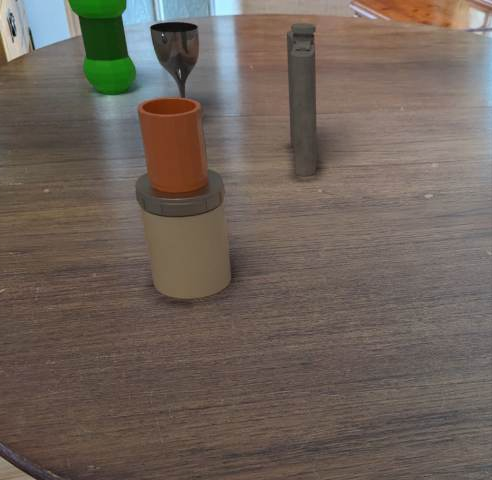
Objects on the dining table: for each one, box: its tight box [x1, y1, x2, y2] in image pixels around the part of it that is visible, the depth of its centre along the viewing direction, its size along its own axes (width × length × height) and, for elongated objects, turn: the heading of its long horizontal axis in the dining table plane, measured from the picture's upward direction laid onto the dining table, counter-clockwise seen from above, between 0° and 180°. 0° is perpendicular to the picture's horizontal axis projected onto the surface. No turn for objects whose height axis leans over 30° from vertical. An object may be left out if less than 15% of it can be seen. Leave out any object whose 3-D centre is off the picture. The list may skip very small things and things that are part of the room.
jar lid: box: [134, 168, 226, 216], centre depth 79 cm, size 9×9×2 cm
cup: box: [136, 96, 209, 193], centre depth 76 cm, size 6×6×8 cm
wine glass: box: [149, 21, 206, 120], centre depth 128 cm, size 8×8×15 cm
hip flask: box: [286, 22, 318, 177], centre depth 112 cm, size 16×4×20 cm, turn 9°
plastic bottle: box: [67, 0, 137, 95], centre depth 135 cm, size 10×10×25 cm
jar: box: [139, 199, 232, 300], centre depth 82 cm, size 9×9×12 cm
